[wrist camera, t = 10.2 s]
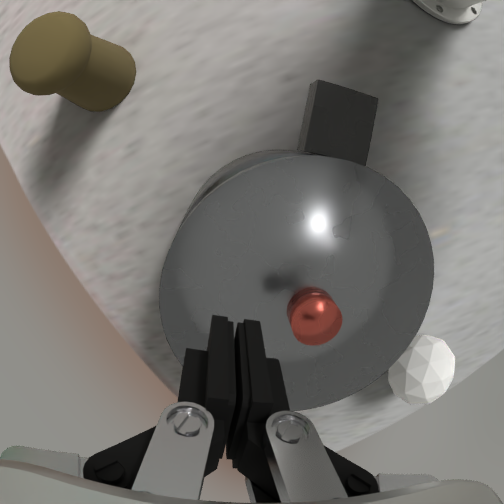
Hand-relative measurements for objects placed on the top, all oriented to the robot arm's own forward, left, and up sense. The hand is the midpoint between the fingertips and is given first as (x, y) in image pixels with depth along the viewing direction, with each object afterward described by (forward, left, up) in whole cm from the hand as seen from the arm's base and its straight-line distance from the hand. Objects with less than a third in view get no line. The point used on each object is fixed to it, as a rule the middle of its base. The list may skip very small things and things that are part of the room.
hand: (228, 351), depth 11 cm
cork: (-11, -12, -17) cm, 24 cm away
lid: (+1, +5, -7) cm, 8 cm away
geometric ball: (+11, +23, -17) cm, 30 cm away
